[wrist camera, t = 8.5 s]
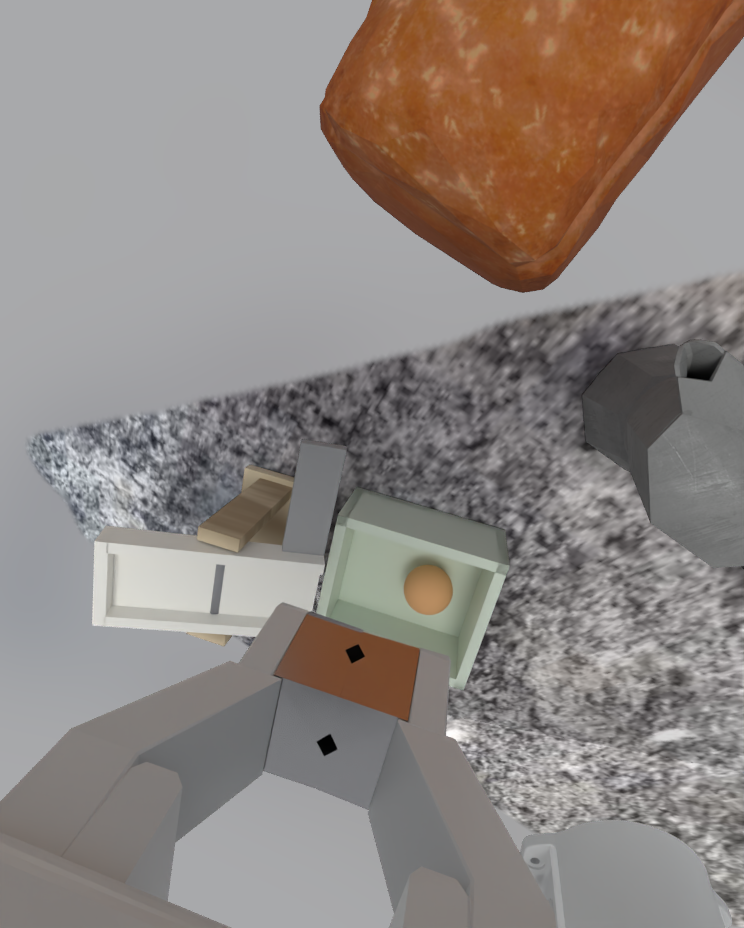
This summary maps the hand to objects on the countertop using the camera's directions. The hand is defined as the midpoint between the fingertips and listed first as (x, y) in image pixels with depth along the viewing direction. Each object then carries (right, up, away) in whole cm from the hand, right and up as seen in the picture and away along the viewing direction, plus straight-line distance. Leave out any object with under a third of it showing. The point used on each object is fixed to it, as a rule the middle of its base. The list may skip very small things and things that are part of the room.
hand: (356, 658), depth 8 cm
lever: (-10, -1, +26) cm, 28 cm away
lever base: (-9, -2, +36) cm, 37 cm away
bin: (+4, -6, +34) cm, 35 cm away
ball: (+5, -7, +32) cm, 33 cm away
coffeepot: (+21, +7, +27) cm, 35 cm away
